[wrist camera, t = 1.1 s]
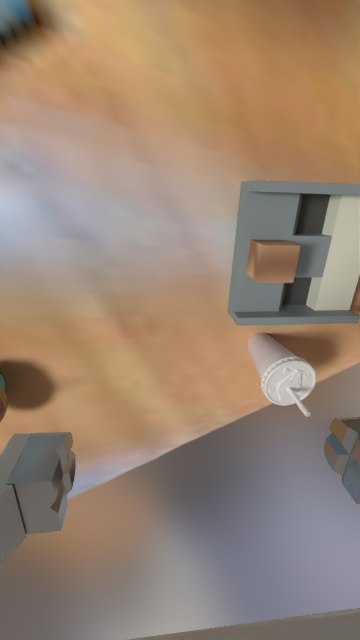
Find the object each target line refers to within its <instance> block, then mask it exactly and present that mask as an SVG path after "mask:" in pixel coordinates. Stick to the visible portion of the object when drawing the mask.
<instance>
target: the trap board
mask: <svg viewBox="0 0 360 640" xmlns="http://www.w3.org/2000/svg"><path fill="white" fill-rule="evenodd" d="M251 239H256V240H285V241H288V242H291V243H294V244H297V245H300V251H299V256H298V261H297V266H296V271H295V276H294V281H293V283H258V282H257V281H255V280H254V279H253V278H251V277H250V276H249V275H248V274H246V271H247V263H248V255H249V247H250V240H251ZM359 276H360V185H357V184H332V183H307V182H282V181H257V180H255V181H247V182H241V192H240V201H239V210H238V220H237V229H236V239H235V248H234V258H233V267H232V277H231V286H230V296H229V305H228V313H229V314H230V316H231V317H232V318H233V320H234V321H235V323H236V324H237V325H238V326H239V325H285V324H331V323H358V320H359V317H360V316H359V315H357V314H356V313H354V312H352V311H350V307H351V303H352V300H353V296H354V293H355V289H356V286H357V283H358V279H359Z"/></svg>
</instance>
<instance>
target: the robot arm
mask: <svg viewBox="0 0 360 640" xmlns="http://www.w3.org/2000/svg"><path fill="white" fill-rule="evenodd" d="M330 430H331V432H332V434H331V435H330V436H328V437H327V438H326V441H325V445H324V451H325V456H326V459H327V461H328V463H329V465H330V466H331V468H332V469H333V470H334V471H335V472H337V473H338V474H340V475H341V476H342V484H343V485H344V487H345V488H346V489H347V491H348V492H349V493H350V495H351V497H352V498H353V499H354V501H355V502H356V504H360V417H352V418H336V419H334V420H333V421H332V422H331V425H330ZM72 444H73V439H72V433H70V432H53V433H33V434H15V435H13V436H12V437H11V438H10V439H9V441H8V443H7V445H6V446H5V448H4V450H3V452H2V453H1V455H0V568H1V567H2V566H3V564H4V563H5V562H6V561H7V559H9V557H10V556H11V555H12V554H13V552H14V551H15V550H16V549H17V548H18V546H19V545H20V544H21V543H22V541H23V540H24V539H25V538H26V535H27V534H36V533H44V532H52V531H61V529H62V525H63V521H64V517H65V514H66V510H67V506H68V503H67V496H66V495H67V494H68V493H69V492H70V491H71V489H72V486H73V482H74V476H75V468H76V464H75V453H73V452H72V451H71V448H72ZM129 640H360V608H356V609H349V610H342V611H335V612H327V613H320V614H312V615H305V616H297V617H290V618H283V619H276V620H268V621H261V622H253V623H247V624H239V625H231V626H224V627H217V628H209V629H203V630H195V631H188V632H180V633H174V634H166V635H158V636H151V637H144V638H136V639H129Z"/></svg>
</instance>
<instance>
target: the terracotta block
mask: <svg viewBox="0 0 360 640" xmlns="http://www.w3.org/2000/svg"><path fill="white" fill-rule="evenodd" d="M299 251H300V245H297V244H294V243H291V242H288V241H285V240H256V239H251V240H250V247H249V255H248V263H247V271H246V274H248V275H249V276H250V277H251V278H253V279H254V280H255V281H257V282H258V283H293V281H294V276H295V271H296V266H297V261H298V256H299Z"/></svg>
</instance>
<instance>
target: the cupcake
mask: <svg viewBox="0 0 360 640" xmlns="http://www.w3.org/2000/svg"><path fill="white" fill-rule="evenodd" d="M5 385H6V383H5V379H4V378H3V376H2V375H1V374H0V421H1V420H2V419H3V417H4V415H5V413H6V410H7V405H8V398H7V394H6V393H5V391H4V390H5Z"/></svg>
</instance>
